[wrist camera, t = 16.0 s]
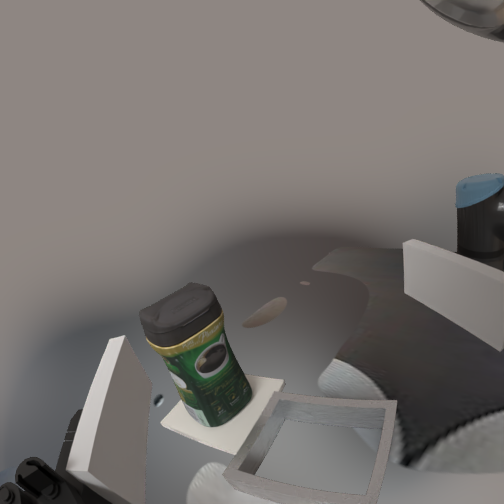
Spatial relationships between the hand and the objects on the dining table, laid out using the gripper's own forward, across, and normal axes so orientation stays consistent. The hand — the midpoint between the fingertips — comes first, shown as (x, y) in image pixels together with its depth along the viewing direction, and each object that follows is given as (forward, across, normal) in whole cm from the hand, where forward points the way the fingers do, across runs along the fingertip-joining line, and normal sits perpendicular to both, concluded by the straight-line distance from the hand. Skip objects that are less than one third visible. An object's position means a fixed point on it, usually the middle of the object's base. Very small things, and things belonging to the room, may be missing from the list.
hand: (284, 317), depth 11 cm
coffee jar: (+19, -8, -24) cm, 32 cm away
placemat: (+19, -8, -25) cm, 32 cm away
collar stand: (+5, +2, -25) cm, 25 cm away
